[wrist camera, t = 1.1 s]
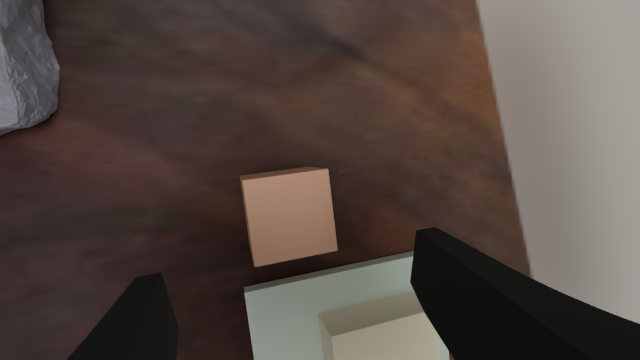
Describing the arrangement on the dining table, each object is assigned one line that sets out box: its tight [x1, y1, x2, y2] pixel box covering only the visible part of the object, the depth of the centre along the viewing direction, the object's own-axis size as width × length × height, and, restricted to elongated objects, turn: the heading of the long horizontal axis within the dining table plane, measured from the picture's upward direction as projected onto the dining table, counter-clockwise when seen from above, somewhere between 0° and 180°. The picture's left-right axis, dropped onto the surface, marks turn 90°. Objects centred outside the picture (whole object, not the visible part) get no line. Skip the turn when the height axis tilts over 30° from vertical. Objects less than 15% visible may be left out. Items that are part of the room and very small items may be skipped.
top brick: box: [240, 167, 338, 267], centre depth 20 cm, size 4×4×5 cm
